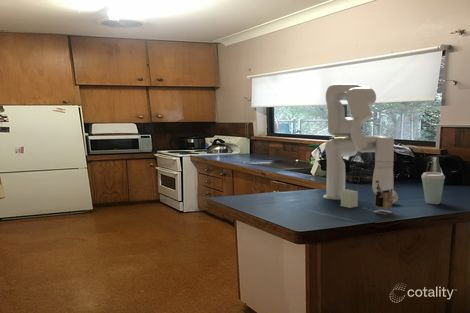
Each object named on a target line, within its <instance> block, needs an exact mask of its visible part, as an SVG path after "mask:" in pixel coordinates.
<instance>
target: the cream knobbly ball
mask: <svg viewBox="0 0 470 313" xmlns="http://www.w3.org/2000/svg"><path fill="white" fill-rule="evenodd" d="M397 191H398V189H395V190H394V189H393V190H392V192H393V197H392V205H394V204H395V203H396V202H398V201H401V199H400V197H399V194H398V193H397Z"/></svg>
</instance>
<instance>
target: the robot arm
mask: <svg viewBox="0 0 470 313" xmlns="http://www.w3.org/2000/svg"><path fill="white" fill-rule="evenodd" d="M341 101H347V105H348V107H349V110H350V112H351V115H352V117H345V115H346V114H345V113H346V111H345V107H344V104H343V103H342V102H341ZM376 101H377V94H376V92H375V90H374V89H373V88H371V87H369V86H365V85H363V84H359V83H346V82H345V83H342V82H338V83H332V84H330V85H329V86H328V87H327V89H326V91H325V102H326V107H327V131H328V134H329V135H330V136H334V137H339V138H331V139H328V140H326V142H325V145H324V152H325V155H326V156H325V157H326V184H325V185H326V186H325V187H326V188H325V189H326V194H324V195H323V197H322V198H324V199H327V200H335V201H337V200H340V201H341V191H344V190H349V189H346V163H345V161H344V159H343V158H342V157H353V156H356V154H358V152H359V153H375V154H374V158H375V160H374V168H373V175H372V182H371V183H372V186H371V187H372V188H371V189H372V192H373V195H374V194H375V197H376V206H379V207H383V198H382V195H383V191H392V190H394V188H395V186H394V182H395V181H394V157H395V156H394V152H395V151H394V148H395V139H394V137H392V136H385V135H375V134H374V135H371V134H370V135H364V134H363V132H362V128H361V126H362V125H361V124H364V123H365V122H367V121H369V120H370V119H371V118H372V116H373V112H372V110H371V107H370V106H372V105H374V104H375V103H376ZM340 137H341V138H340ZM342 137H345V138H342ZM379 192H380V193H379Z"/></svg>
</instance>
